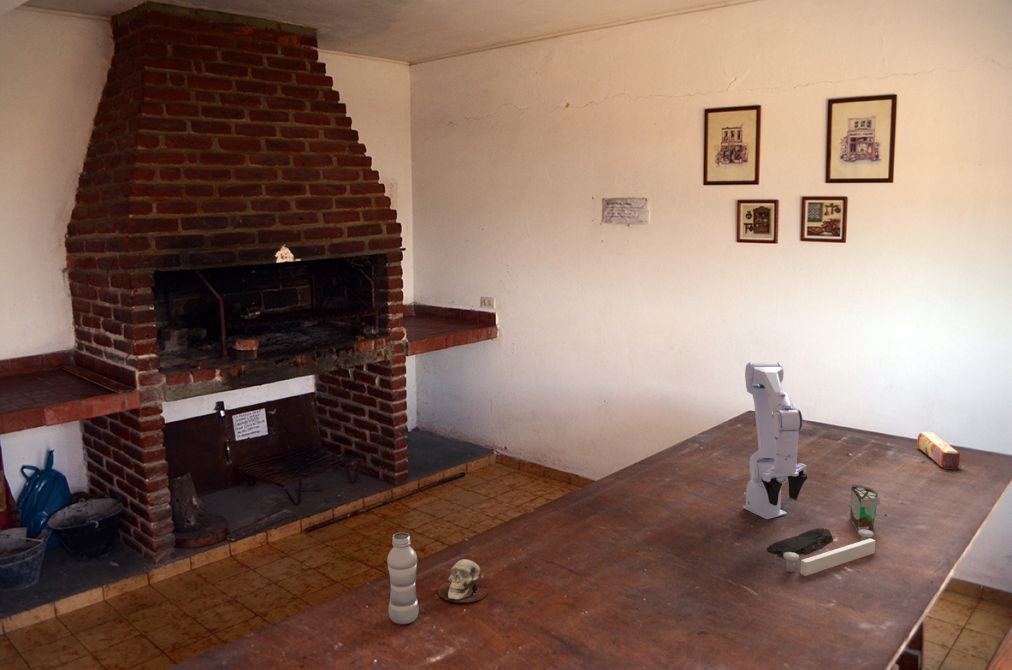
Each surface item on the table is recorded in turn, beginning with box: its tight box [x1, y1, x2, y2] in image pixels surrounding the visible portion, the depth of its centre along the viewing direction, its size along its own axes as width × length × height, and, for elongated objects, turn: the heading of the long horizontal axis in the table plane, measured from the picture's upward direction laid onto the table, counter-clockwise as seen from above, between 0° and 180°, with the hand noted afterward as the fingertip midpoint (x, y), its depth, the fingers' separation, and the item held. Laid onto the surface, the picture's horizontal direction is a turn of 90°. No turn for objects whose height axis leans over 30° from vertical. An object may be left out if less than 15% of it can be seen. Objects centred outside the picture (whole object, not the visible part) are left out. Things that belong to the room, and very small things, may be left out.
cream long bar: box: [782, 529, 877, 577], centre depth 199 cm, size 6×31×4 cm, turn 117°
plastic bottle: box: [386, 532, 420, 625], centre depth 173 cm, size 6×7×20 cm
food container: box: [849, 483, 881, 533], centre depth 218 cm, size 12×6×10 cm, turn 168°
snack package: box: [916, 431, 961, 470], centre depth 271 cm, size 21×7×7 cm, turn 173°
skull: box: [437, 558, 488, 603], centre depth 186 cm, size 12×10×10 cm
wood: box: [766, 527, 834, 558], centre depth 207 cm, size 22×7×3 cm, turn 119°
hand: (783, 501), depth 213 cm, fingers open, 7 cm apart
